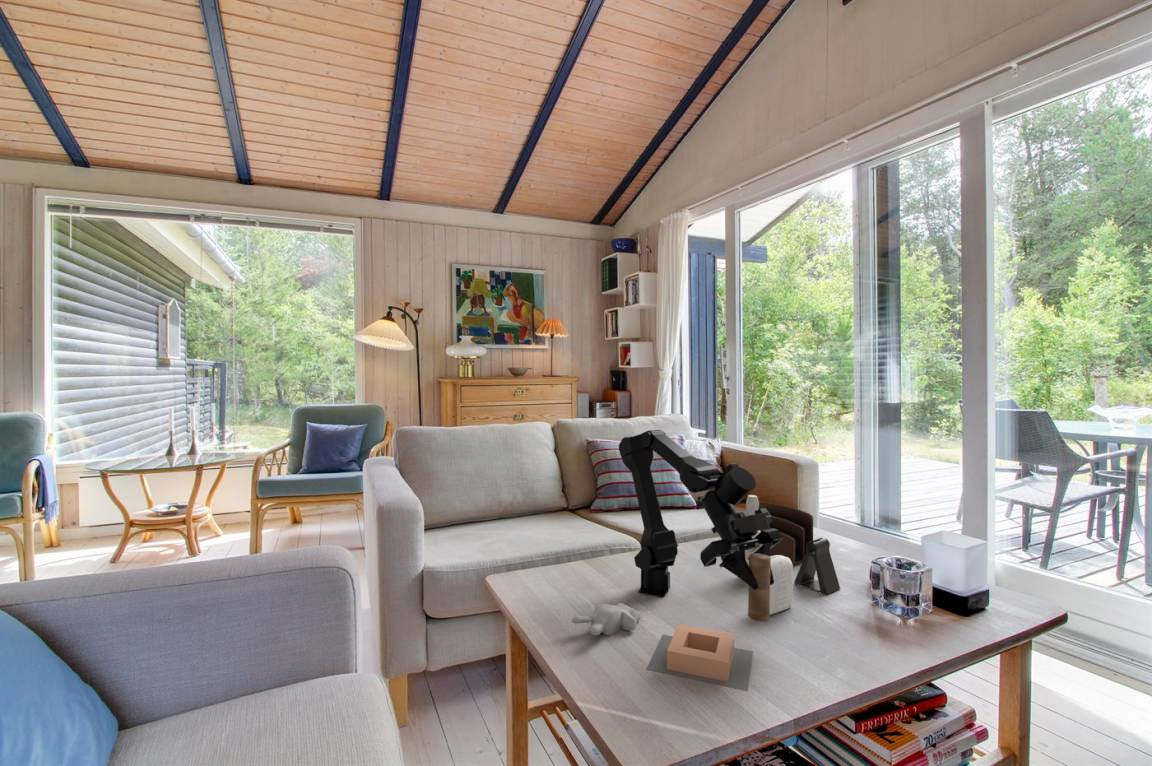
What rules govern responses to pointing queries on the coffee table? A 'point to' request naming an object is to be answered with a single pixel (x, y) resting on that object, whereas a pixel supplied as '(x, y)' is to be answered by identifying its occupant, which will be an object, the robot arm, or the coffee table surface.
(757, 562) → the walnut peg
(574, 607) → the coffee table surface
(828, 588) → the phone stand
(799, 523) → the letter holder
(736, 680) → the mat
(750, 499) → the faceted bottle
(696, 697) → the coffee table surface
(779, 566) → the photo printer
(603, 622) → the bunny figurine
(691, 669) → the socket block
